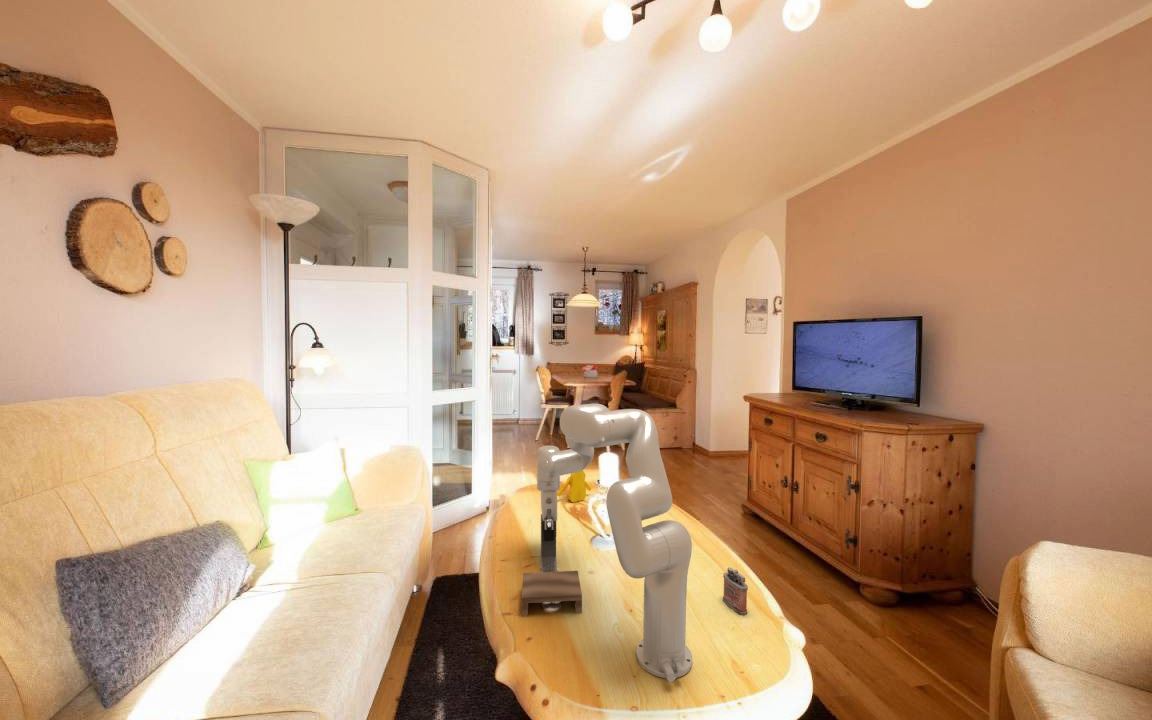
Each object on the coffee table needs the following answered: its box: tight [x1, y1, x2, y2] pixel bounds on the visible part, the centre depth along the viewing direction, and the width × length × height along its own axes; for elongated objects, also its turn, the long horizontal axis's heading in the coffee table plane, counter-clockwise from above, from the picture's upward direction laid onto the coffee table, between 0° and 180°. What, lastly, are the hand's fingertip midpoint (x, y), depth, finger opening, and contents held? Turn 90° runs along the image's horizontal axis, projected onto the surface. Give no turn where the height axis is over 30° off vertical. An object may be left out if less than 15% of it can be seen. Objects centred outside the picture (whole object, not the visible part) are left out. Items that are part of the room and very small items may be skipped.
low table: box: [521, 570, 583, 617], centre depth 121 cm, size 12×16×5 cm
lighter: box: [722, 566, 749, 617], centre depth 119 cm, size 8×3×10 cm, turn 21°
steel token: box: [541, 601, 562, 613], centre depth 119 cm, size 5×5×1 cm
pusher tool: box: [540, 513, 559, 572], centre depth 137 cm, size 19×5×14 cm, turn 5°
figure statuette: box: [557, 470, 592, 503], centre depth 196 cm, size 18×8×22 cm, turn 118°
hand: (548, 534), depth 145 cm, fingers open, 9 cm apart
